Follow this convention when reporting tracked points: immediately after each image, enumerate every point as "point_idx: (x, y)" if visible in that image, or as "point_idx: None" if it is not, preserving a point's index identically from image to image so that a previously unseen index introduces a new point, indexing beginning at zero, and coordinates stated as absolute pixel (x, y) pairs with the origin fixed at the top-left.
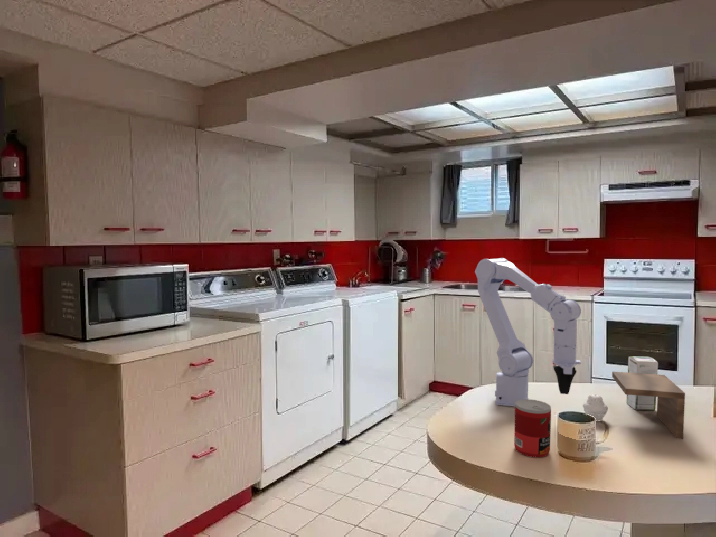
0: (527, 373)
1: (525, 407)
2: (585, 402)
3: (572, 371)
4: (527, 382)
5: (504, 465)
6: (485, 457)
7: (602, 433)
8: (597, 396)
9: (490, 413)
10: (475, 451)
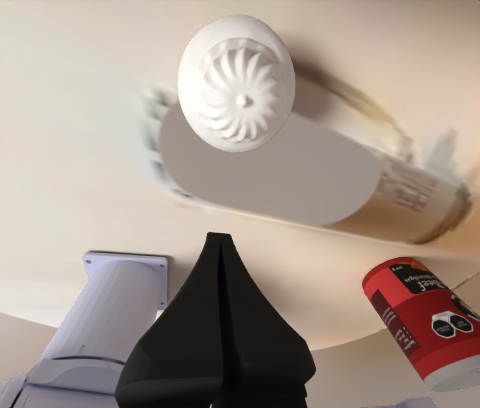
0: (89, 368)
1: (466, 378)
2: (232, 146)
3: (308, 377)
4: (114, 327)
5: None
6: None
7: (357, 115)
8: (262, 94)
9: None
10: (364, 323)
